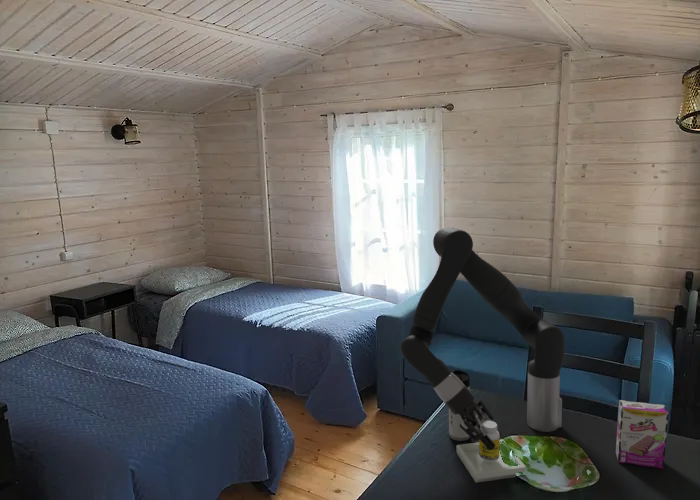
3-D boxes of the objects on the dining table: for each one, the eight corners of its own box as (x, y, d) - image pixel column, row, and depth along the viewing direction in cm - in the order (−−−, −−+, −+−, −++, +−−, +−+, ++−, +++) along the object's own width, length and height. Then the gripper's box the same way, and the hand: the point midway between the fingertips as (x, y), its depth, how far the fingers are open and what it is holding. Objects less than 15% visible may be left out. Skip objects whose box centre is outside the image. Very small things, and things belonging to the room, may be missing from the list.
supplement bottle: (479, 461, 140) (480, 428, 138) (478, 450, 145) (478, 418, 144) (500, 463, 139) (500, 429, 137) (498, 451, 144) (498, 419, 143)
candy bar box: (618, 463, 140) (620, 407, 137) (615, 453, 145) (617, 399, 142) (665, 470, 136) (669, 412, 133) (660, 459, 141) (664, 403, 138)
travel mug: (468, 430, 161) (468, 369, 157) (471, 441, 154) (471, 378, 151) (448, 429, 161) (447, 369, 158) (450, 441, 155) (449, 378, 151)
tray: (502, 447, 150) (502, 439, 150) (525, 475, 137) (526, 466, 136) (456, 453, 148) (456, 445, 148) (475, 482, 135) (475, 473, 134)
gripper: (453, 396, 137) (498, 449, 133) (471, 376, 149) (512, 424, 145) (435, 410, 140) (478, 462, 136) (453, 389, 152) (493, 436, 148)
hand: (495, 442), depth 141 cm, fingers closed on supplement bottle, 5 cm apart
